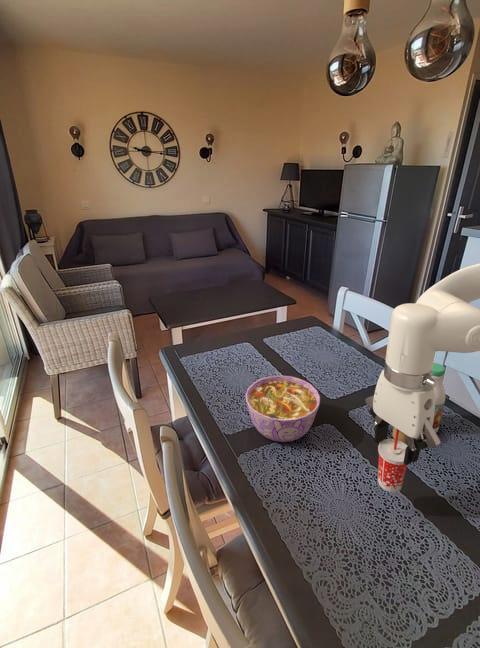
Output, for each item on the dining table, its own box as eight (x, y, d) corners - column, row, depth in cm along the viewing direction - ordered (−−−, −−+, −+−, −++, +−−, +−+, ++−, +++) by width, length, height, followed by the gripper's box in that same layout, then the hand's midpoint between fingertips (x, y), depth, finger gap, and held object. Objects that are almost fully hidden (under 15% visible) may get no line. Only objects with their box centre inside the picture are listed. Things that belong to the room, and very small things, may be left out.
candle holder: (410, 431, 99) (415, 405, 96) (418, 449, 93) (424, 421, 90) (386, 430, 100) (390, 404, 96) (392, 447, 94) (397, 420, 90)
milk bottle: (409, 435, 98) (422, 373, 90) (404, 417, 105) (416, 357, 97) (440, 439, 96) (456, 376, 88) (433, 420, 103) (447, 360, 95)
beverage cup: (412, 488, 73) (422, 434, 68) (390, 500, 71) (398, 445, 65) (389, 467, 78) (397, 415, 73) (367, 477, 76) (373, 425, 70)
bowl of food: (292, 469, 89) (293, 432, 84) (231, 433, 101) (230, 399, 96) (330, 426, 102) (333, 392, 98) (273, 399, 115) (274, 367, 110)
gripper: (468, 389, 59) (448, 471, 66) (381, 347, 72) (372, 418, 80) (440, 405, 55) (422, 490, 62) (354, 358, 69) (348, 432, 76)
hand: (394, 449), depth 71 cm, fingers closed on beverage cup, 6 cm apart
